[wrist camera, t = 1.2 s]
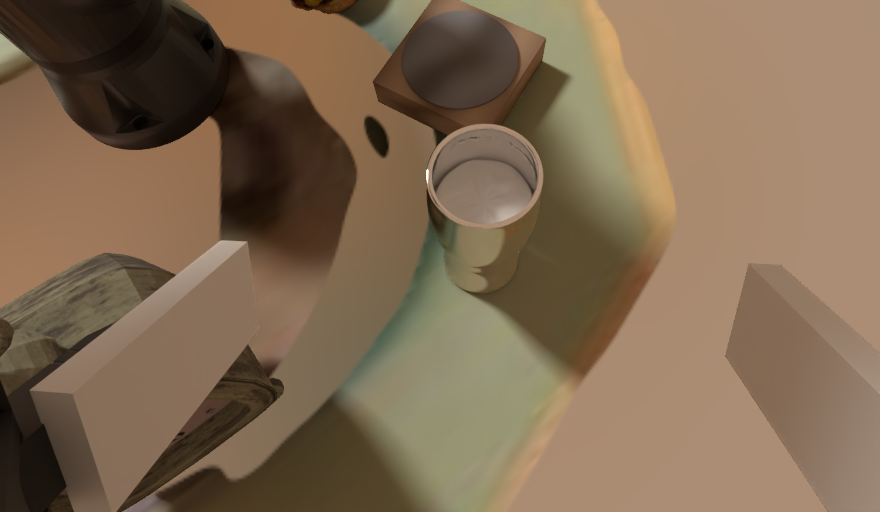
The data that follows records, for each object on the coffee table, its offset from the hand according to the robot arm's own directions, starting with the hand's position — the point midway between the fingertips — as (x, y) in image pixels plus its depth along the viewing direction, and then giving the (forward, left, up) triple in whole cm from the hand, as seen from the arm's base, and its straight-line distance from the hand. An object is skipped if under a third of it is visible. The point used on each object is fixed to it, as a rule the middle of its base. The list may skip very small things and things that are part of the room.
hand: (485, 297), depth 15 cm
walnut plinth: (-15, +23, -28) cm, 39 cm away
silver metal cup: (-5, +9, -28) cm, 30 cm away
